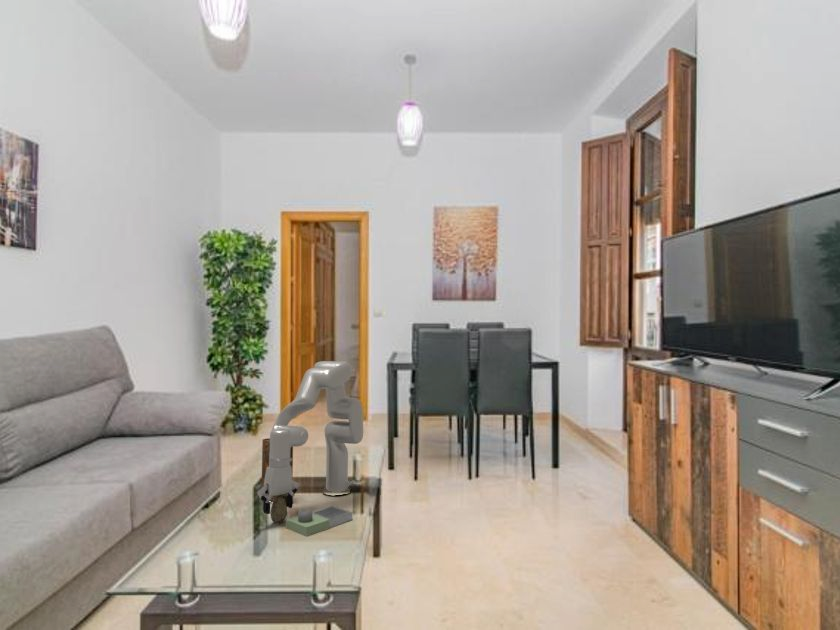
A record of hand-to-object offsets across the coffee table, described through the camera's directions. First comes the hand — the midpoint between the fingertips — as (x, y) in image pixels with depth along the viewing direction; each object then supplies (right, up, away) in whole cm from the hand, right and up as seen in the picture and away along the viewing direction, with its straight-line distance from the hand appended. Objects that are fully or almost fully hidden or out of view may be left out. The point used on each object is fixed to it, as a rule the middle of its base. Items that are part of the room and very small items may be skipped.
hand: (278, 510), depth 189 cm
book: (-9, -7, +27) cm, 29 cm away
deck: (+12, -5, -5) cm, 13 cm away
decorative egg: (0, -5, 0) cm, 5 cm away
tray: (+19, -5, +4) cm, 20 cm away
